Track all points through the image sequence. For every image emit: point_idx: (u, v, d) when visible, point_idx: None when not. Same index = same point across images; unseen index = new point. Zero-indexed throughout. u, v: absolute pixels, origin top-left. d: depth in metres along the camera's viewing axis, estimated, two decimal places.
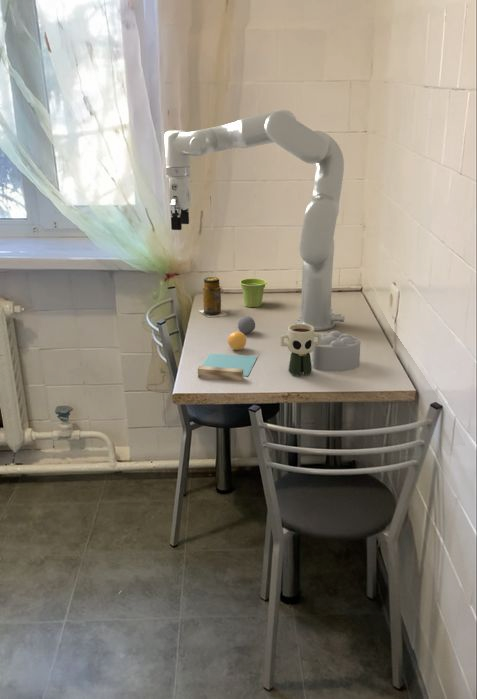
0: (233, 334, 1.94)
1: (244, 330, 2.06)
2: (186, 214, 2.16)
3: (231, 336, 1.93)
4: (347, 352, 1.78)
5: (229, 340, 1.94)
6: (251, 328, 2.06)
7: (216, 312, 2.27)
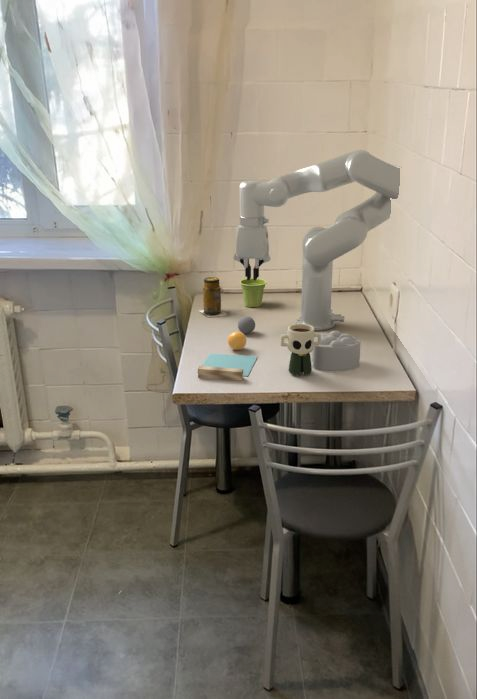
0: (233, 334, 1.94)
1: (244, 330, 2.06)
2: (250, 268, 2.12)
3: (231, 336, 1.93)
4: (347, 352, 1.78)
5: (229, 340, 1.94)
6: (251, 328, 2.06)
7: (216, 312, 2.27)
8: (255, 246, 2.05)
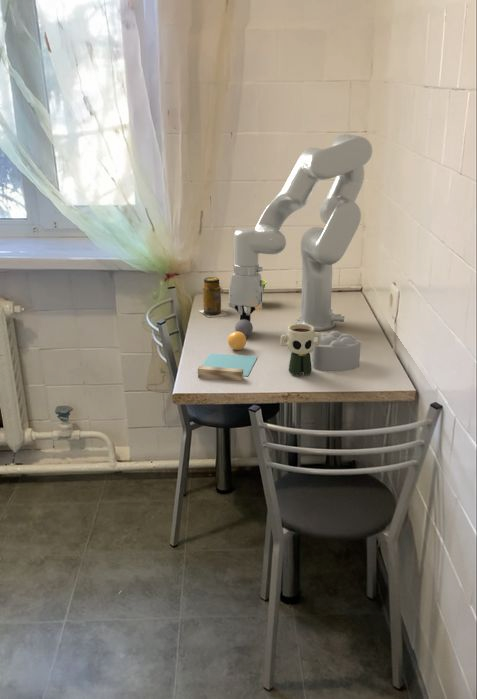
0: (233, 334, 1.94)
1: None
2: None
3: (231, 336, 1.93)
4: (347, 352, 1.78)
5: (229, 340, 1.94)
6: (249, 334, 2.05)
7: (216, 312, 2.27)
8: (248, 294, 2.03)
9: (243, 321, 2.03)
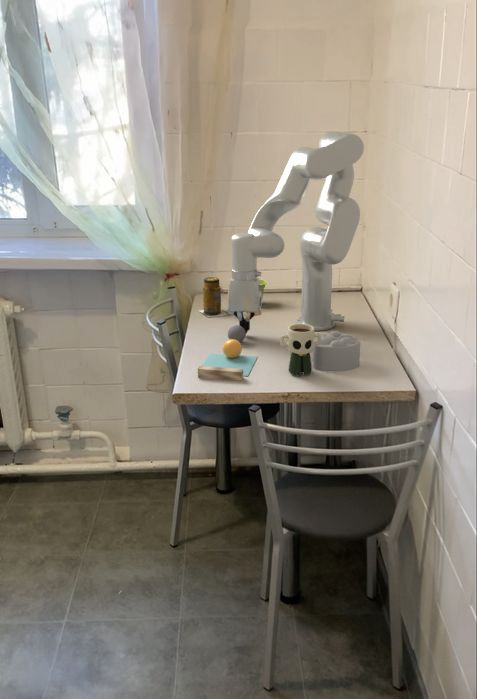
0: None
1: None
2: (244, 321, 2.06)
3: None
4: (347, 352, 1.78)
5: None
6: None
7: (216, 312, 2.27)
8: (248, 299, 1.99)
9: None
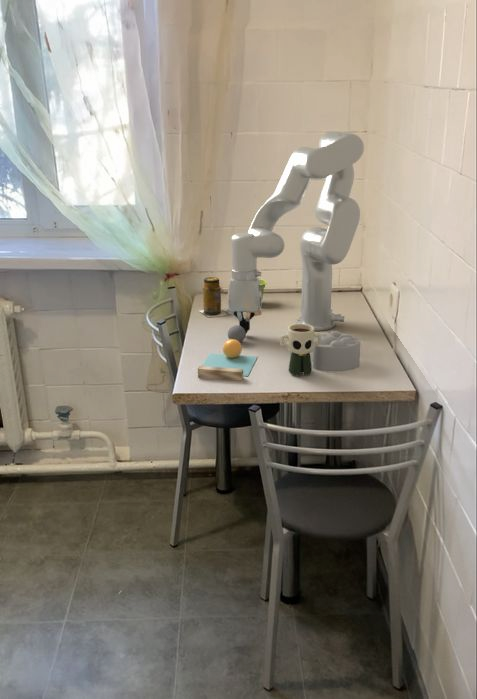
0: None
1: None
2: (244, 321, 2.06)
3: None
4: (347, 352, 1.78)
5: None
6: None
7: (216, 312, 2.27)
8: (248, 299, 1.99)
9: None
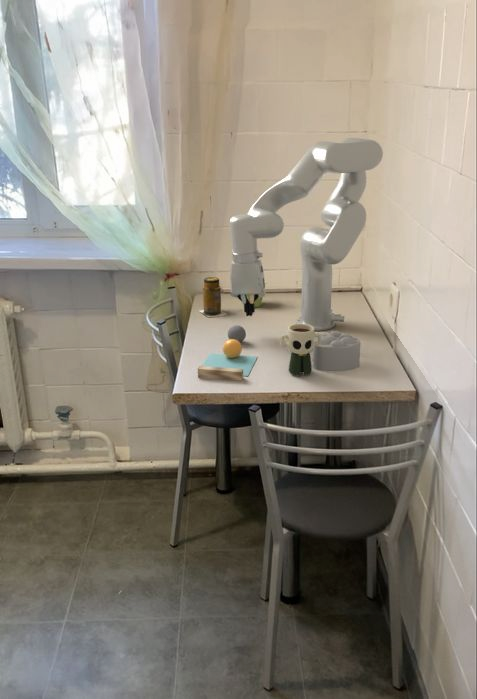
0: None
1: None
2: None
3: None
4: (347, 352, 1.78)
5: None
6: None
7: (216, 312, 2.27)
8: (251, 281, 1.97)
9: None
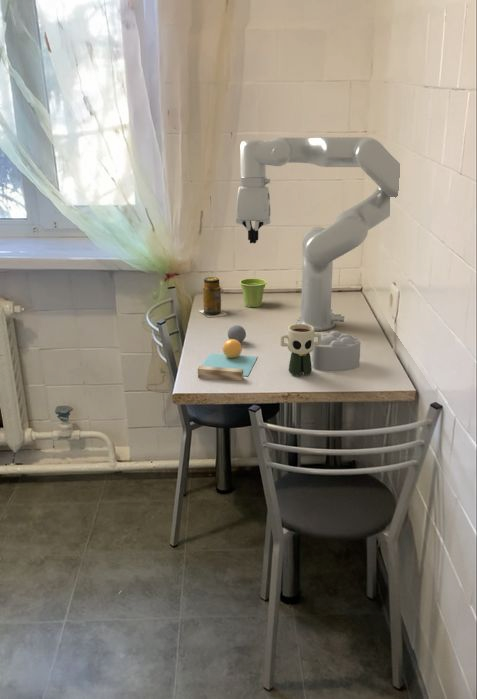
0: None
1: None
2: None
3: None
4: (347, 352, 1.78)
5: None
6: None
7: (216, 312, 2.27)
8: (257, 207, 2.00)
9: None
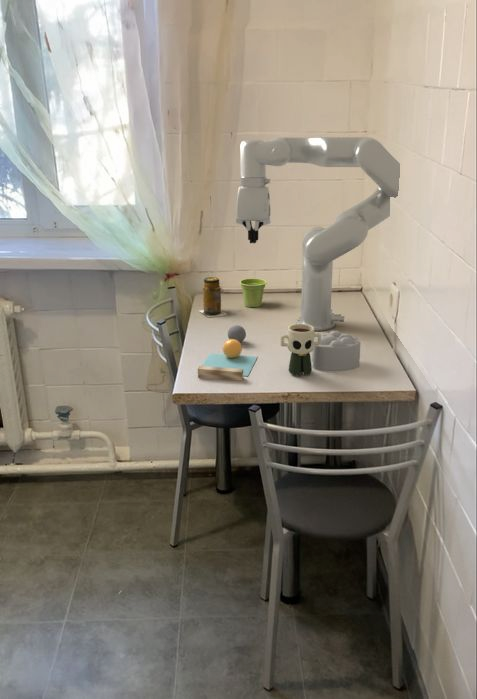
0: None
1: None
2: None
3: None
4: (347, 352, 1.78)
5: None
6: None
7: (216, 312, 2.27)
8: (257, 207, 2.00)
9: None
